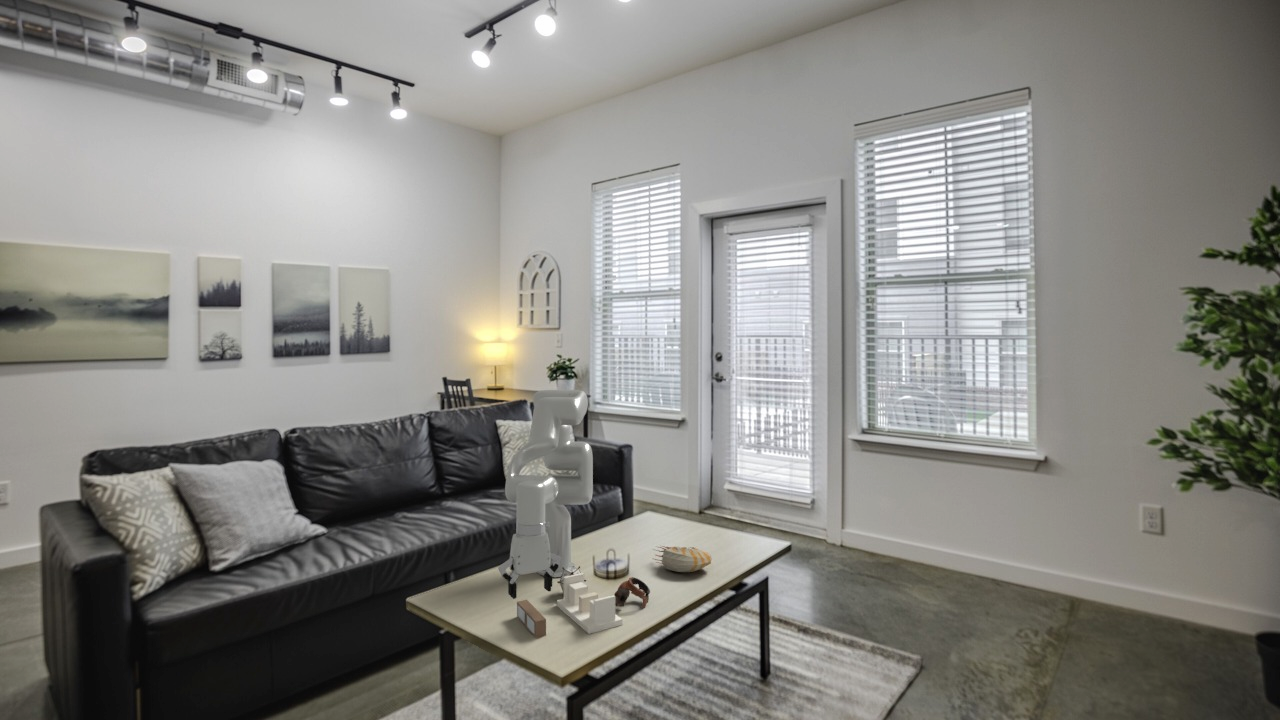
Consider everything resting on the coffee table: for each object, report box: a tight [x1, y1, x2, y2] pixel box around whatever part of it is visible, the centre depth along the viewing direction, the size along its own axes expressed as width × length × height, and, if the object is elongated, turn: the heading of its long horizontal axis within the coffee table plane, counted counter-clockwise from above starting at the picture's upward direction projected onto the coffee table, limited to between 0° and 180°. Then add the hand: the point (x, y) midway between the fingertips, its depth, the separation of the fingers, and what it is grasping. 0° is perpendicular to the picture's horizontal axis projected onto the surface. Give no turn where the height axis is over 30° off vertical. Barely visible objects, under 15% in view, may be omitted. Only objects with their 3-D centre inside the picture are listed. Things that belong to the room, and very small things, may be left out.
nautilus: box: [652, 545, 713, 573], centre depth 208 cm, size 8×22×15 cm
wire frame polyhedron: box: [556, 565, 588, 598], centre depth 186 cm, size 9×8×10 cm
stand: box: [556, 572, 623, 635], centre depth 173 cm, size 20×10×8 cm, turn 32°
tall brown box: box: [516, 599, 547, 639], centre depth 166 cm, size 14×3×4 cm, turn 30°
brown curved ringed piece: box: [613, 576, 651, 608], centre depth 179 cm, size 12×10×8 cm
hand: (530, 593), depth 165 cm, fingers open, 9 cm apart
